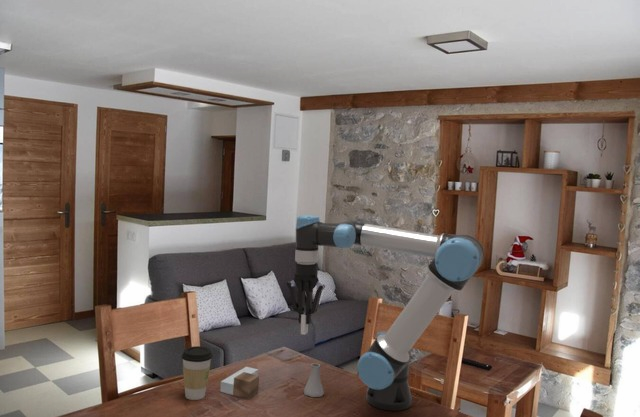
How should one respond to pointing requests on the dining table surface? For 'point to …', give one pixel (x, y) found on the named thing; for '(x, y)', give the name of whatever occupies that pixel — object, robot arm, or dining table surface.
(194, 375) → the coffee cup
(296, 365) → the dining table surface
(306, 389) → the flask
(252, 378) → the walnut block
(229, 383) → the white rectangular block
